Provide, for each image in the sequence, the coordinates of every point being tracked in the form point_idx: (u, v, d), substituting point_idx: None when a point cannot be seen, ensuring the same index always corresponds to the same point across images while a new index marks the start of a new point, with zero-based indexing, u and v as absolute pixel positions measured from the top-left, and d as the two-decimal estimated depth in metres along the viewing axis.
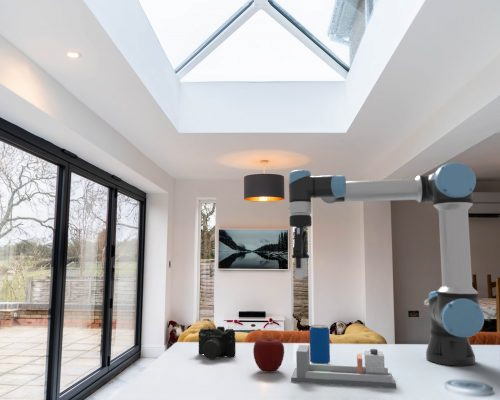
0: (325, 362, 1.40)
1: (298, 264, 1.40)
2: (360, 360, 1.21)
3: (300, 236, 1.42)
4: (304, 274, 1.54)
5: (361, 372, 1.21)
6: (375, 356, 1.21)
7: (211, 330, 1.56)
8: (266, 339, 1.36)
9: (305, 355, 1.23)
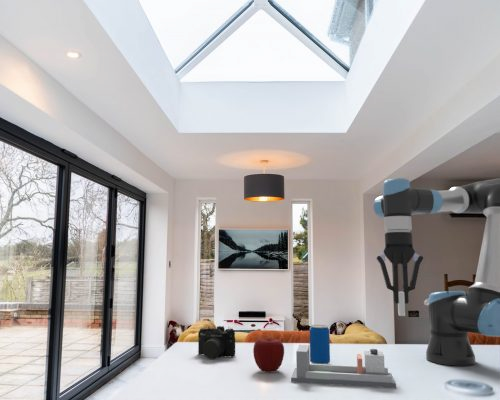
0: (325, 362, 1.40)
1: None
2: (360, 360, 1.21)
3: (381, 266, 1.26)
4: None
5: (361, 372, 1.21)
6: (375, 356, 1.21)
7: (211, 330, 1.57)
8: (266, 339, 1.36)
9: (305, 355, 1.23)
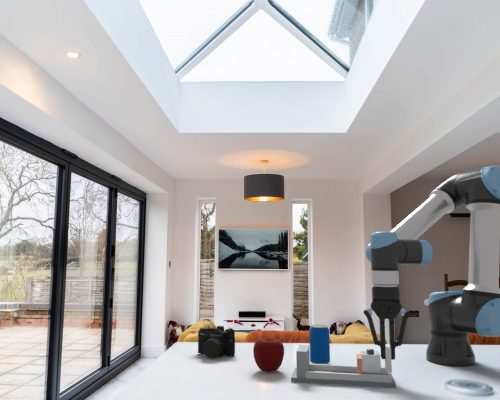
0: (325, 362, 1.40)
1: None
2: (360, 360, 1.21)
3: (368, 321, 1.24)
4: None
5: (361, 372, 1.21)
6: (371, 356, 1.21)
7: (211, 329, 1.57)
8: (266, 339, 1.36)
9: (305, 355, 1.23)
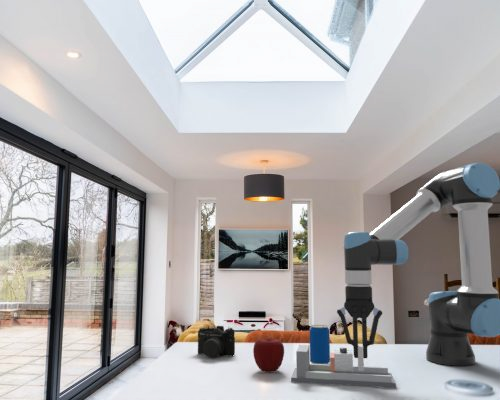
0: (325, 362, 1.40)
1: None
2: (332, 359, 1.23)
3: (341, 320, 1.26)
4: None
5: (333, 371, 1.22)
6: (344, 355, 1.22)
7: (210, 329, 1.58)
8: (266, 339, 1.36)
9: (305, 355, 1.23)
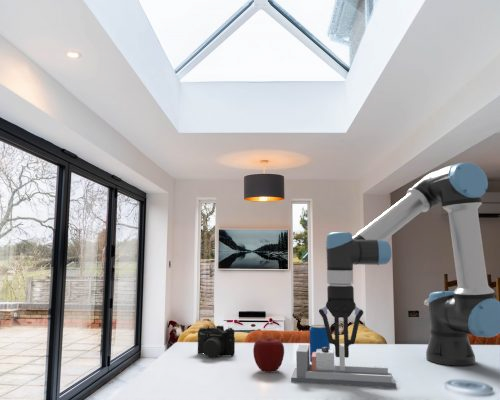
0: None
1: (335, 352, 1.26)
2: (314, 358, 1.24)
3: (323, 320, 1.27)
4: None
5: (314, 370, 1.23)
6: (325, 354, 1.23)
7: (210, 329, 1.58)
8: (266, 339, 1.36)
9: (305, 355, 1.23)
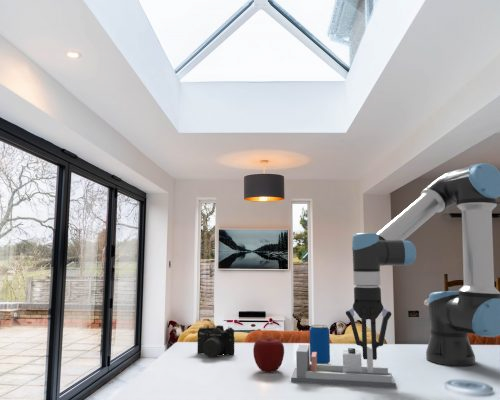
0: (325, 362, 1.40)
1: None
2: (313, 358, 1.24)
3: (350, 321, 1.25)
4: None
5: (314, 370, 1.23)
6: (352, 355, 1.22)
7: (210, 329, 1.58)
8: (266, 339, 1.36)
9: (305, 355, 1.23)
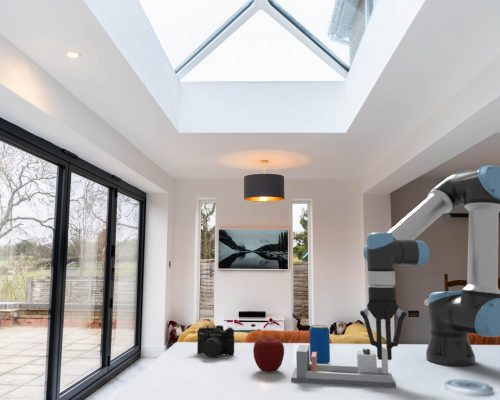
0: (325, 362, 1.40)
1: (377, 354, 1.23)
2: (313, 358, 1.24)
3: None
4: None
5: (314, 370, 1.23)
6: (367, 356, 1.21)
7: (210, 329, 1.59)
8: (266, 339, 1.36)
9: (305, 355, 1.23)
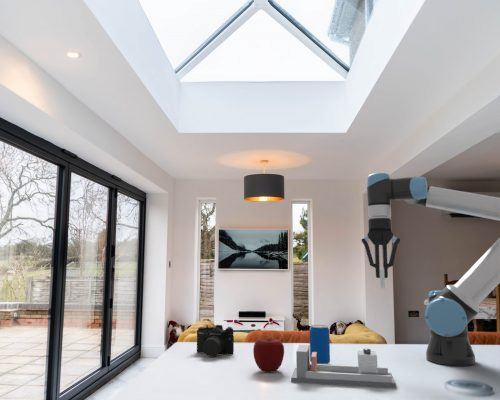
0: (325, 362, 1.40)
1: None
2: (313, 358, 1.24)
3: (365, 247, 1.49)
4: None
5: (314, 370, 1.23)
6: (368, 356, 1.21)
7: (210, 328, 1.60)
8: (266, 339, 1.36)
9: (305, 355, 1.23)
